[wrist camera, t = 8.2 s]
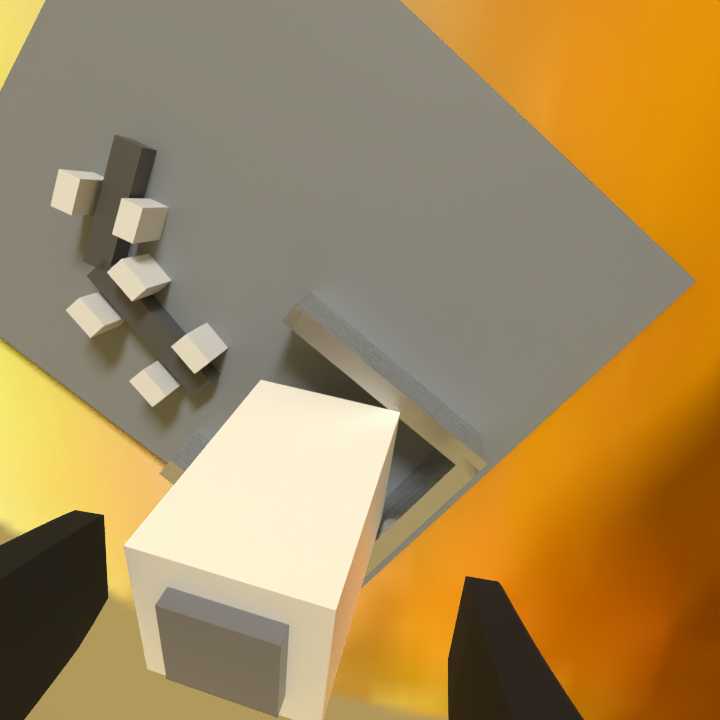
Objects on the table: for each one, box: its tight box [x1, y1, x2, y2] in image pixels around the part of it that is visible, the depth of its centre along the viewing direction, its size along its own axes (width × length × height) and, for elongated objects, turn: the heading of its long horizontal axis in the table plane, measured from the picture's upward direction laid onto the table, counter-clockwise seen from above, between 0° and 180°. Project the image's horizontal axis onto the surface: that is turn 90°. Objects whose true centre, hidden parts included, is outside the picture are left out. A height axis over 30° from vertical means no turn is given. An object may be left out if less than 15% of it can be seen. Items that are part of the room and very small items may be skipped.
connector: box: [124, 380, 400, 720], centre depth 12 cm, size 4×4×6 cm
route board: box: [0, 0, 696, 588], centre depth 14 cm, size 18×15×2 cm
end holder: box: [160, 292, 488, 578], centre depth 15 cm, size 7×7×2 cm
